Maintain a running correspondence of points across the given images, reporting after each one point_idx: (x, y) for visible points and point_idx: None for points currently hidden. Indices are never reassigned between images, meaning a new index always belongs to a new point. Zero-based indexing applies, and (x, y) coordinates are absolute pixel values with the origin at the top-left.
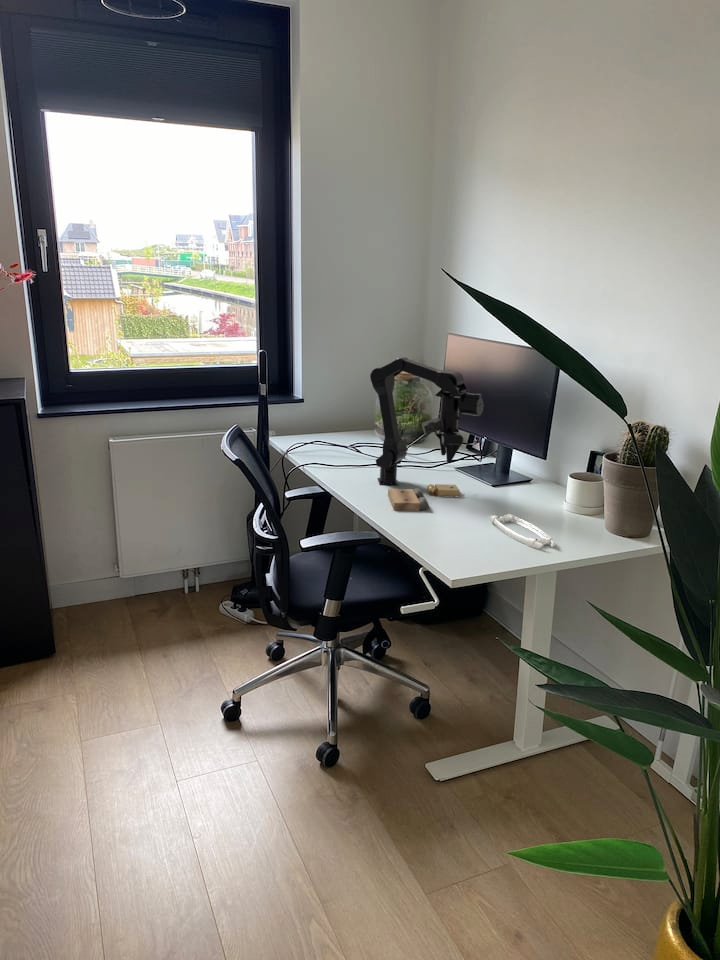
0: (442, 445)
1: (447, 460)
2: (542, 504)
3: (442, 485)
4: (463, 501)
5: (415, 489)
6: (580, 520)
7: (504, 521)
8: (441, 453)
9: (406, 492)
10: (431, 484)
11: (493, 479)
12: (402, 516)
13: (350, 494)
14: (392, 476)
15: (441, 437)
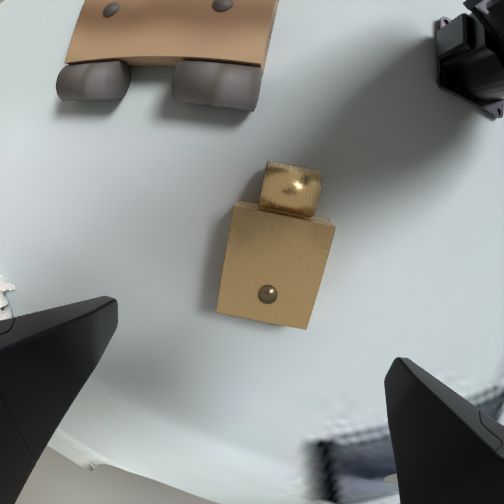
0: (439, 430)
1: (86, 303)
2: (144, 458)
3: (306, 260)
4: (161, 288)
5: (239, 71)
6: (61, 443)
7: (4, 308)
8: (404, 363)
9: (208, 21)
10: (315, 197)
11: (380, 455)
12: (56, 15)
13: None
14: (452, 45)
15: (495, 496)
